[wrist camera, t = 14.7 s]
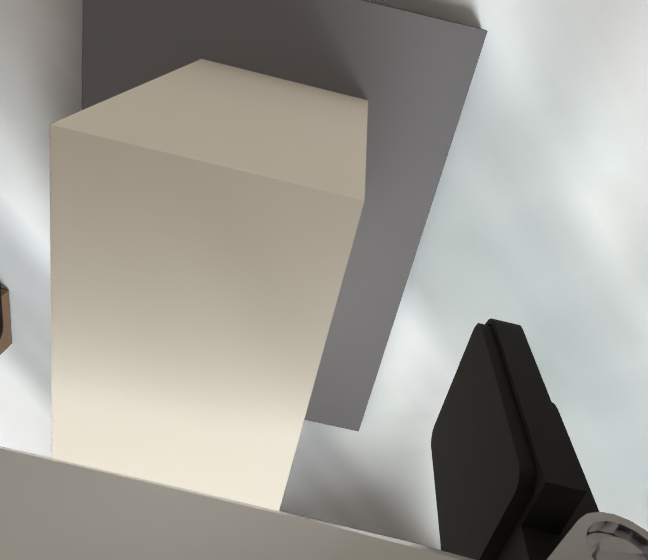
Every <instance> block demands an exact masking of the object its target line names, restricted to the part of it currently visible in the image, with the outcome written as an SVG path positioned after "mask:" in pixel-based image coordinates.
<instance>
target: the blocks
mask: <svg viewBox="0 0 648 560" xmlns="http://www.w3.org/2000/svg"><path fill="white" fill-rule="evenodd" d="M1 299H2V312H3V333H2V336H1V338H0V355H1V354H2V353H3V352H4V351H5V350H6V349H7V348H8V347H9V346H10V345H11V344H12V335H11V319H10V303H9V290H4V289H1Z"/></svg>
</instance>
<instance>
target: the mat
mask: <svg viewBox="0 0 648 560" xmlns="http://www.w3.org/2000/svg"><path fill="white" fill-rule="evenodd" d="M486 34H487V31H486V30H484V29H480V28H476V27H472V26H468V25H464V24H459V23H455V22H451V21H447V20H443V19H439V18H435V17H430V16H426V15H422V14H418V13H414V12H410V11H405V10H401V9H397V8H393V7H389V6H385V5H381V4H376V3H372V2H368V1H364V0H83V41H82V110H84V109H86V108H89V107H91V106H93V105H96V104H98V103H100V102H102V101H105V100H107V99H109V98H112V97H114V96H116V95H119V94H121V93H123V92H126V91H128V90H130V89H133V88H135V87H137V86H140V85H142V84H144V83H147V82H149V81H151V80H154V79H156V78H158V77H161V76H163V75H165V74H168V73H170V72H172V71H175V70H177V69H179V68H182V67H184V66H186V65H188V64H191V63H193V62H195V61H198V60H200V59H204V60H208V61H212V62H216V63H220V64H224V65H228V66H232V67H236V68H240V69H244V70H248V71H252V72H256V73H260V74H264V75H268V76H272V77H276V78H280V79H284V80H288V81H292V82H296V83H300V84H304V85H308V86H312V87H316V88H320V89H324V90H328V91H332V92H336V93H340V94H344V95H348V96H352V97H356V98H360V99H364V100H368V118H367V146H366V175H365V201H364V205H363V208H362V212H361V216H360V219H359V223H358V226H357V230H356V234H355V237H354V241H353V245H352V248H351V252H350V255H349V259H348V263H347V266H346V270H345V274H344V277H343V281H342V284H341V288H340V292H339V295H338V299H337V303H336V306H335V310H334V313H333V317H332V321H331V324H330V328H329V332H328V335H327V339H326V342H325V346H324V350H323V353H322V357H321V361H320V364H319V368H318V371H317V375H316V379H315V382H314V386H313V390H312V393H311V397H310V400H309V404H308V408H307V411H306V415H305V419H304V420H309V421H314V422H318V423H323V424H327V425H332V426H337V427H341V428H346V429H351V430H355V431H359V428H360V425H361V422H362V419H363V416H364V413H365V410H366V407H367V404H368V400H369V397H370V394H371V391H372V388H373V385H374V382H375V379H376V376H377V372H378V369H379V366H380V363H381V360H382V357H383V354H384V351H385V348H386V344H387V341H388V338H389V335H390V332H391V329H392V326H393V323H394V320H395V317H396V313H397V310H398V307H399V304H400V301H401V298H402V295H403V292H404V289H405V285H406V282H407V279H408V276H409V273H410V270H411V267H412V264H413V261H414V258H415V254H416V251H417V248H418V245H419V242H420V239H421V236H422V233H423V230H424V226H425V223H426V220H427V217H428V214H429V211H430V208H431V205H432V202H433V199H434V195H435V192H436V189H437V186H438V183H439V180H440V177H441V174H442V171H443V167H444V164H445V161H446V158H447V155H448V152H449V149H450V146H451V143H452V140H453V136H454V133H455V130H456V127H457V124H458V121H459V118H460V115H461V112H462V108H463V105H464V102H465V99H466V96H467V93H468V90H469V87H470V84H471V81H472V77H473V74H474V71H475V68H476V65H477V62H478V59H479V56H480V53H481V49H482V46H483V43H484V40H485V37H486Z"/></svg>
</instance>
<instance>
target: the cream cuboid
mask: <svg viewBox="0 0 648 560" xmlns="http://www.w3.org/2000/svg"><path fill="white" fill-rule="evenodd" d="M367 118H368V100H364V99H360V98H356V97H352V96H348V95H344V94H340V93H336V92H332V91H328V90H324V89H320V88H316V87H312V86H308V85H304V84H300V83H296V82H292V81H288V80H284V79H280V78H276V77H272V76H268V75H264V74H260V73H256V72H252V71H248V70H244V69H240V68H236V67H232V66H228V65H224V64H220V63H216V62H212V61H208V60H204V59H200V60H198V61H195V62H193V63H191V64H188V65H186V66H184V67H182V68H179V69H177V70H175V71H172V72H170V73H168V74H165V75H163V76H161V77H158V78H156V79H154V80H151V81H149V82H147V83H144V84H142V85H140V86H137V87H135V88H133V89H130V90H128V91H126V92H123V93H121V94H119V95H116V96H114V97H112V98H109V99H107V100H105V101H102V102H100V103H98V104H96V105H93V106H91V107H89V108H86V109H84V110H82V111H79V112H77V113H75V114H72V115H70V116H68V117H65V118H63V119H61V120H58V121H56V122H54V123H51V124H50V247H51V403H52V458H53V459H58V460H62V461H66V462H71V463H75V464H80V465H84V466H88V467H93V468H97V469H101V470H106V471H110V472H114V473H119V474H123V475H127V476H132V477H136V478H140V479H145V480H149V481H153V482H158V483H162V484H166V485H171V486H175V487H179V488H184V489H188V490H192V491H196V492H201V493H205V494H209V495H213V496H218V497H222V498H226V499H230V500H235V501H239V502H243V503H247V504H251V505H256V506H260V507H264V508H268V509H273V510H277V511H279V509H280V506H281V502H282V498H283V495H284V491H285V487H286V484H287V480H288V477H289V473H290V469H291V466H292V462H293V458H294V455H295V451H296V448H297V444H298V440H299V437H300V433H301V429H302V426H303V422H304V419H305V415H306V411H307V408H308V404H309V400H310V397H311V393H312V390H313V386H314V382H315V379H316V375H317V371H318V368H319V364H320V361H321V357H322V353H323V350H324V346H325V342H326V339H327V335H328V332H329V328H330V324H331V321H332V317H333V313H334V310H335V306H336V303H337V299H338V295H339V292H340V288H341V284H342V281H343V277H344V274H345V270H346V266H347V263H348V259H349V255H350V252H351V248H352V245H353V241H354V237H355V234H356V230H357V226H358V223H359V219H360V216H361V212H362V208H363V205H364V201H365V175H366V146H367Z"/></svg>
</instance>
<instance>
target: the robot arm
mask: <svg viewBox="0 0 648 560" xmlns="http://www.w3.org/2000/svg"><path fill="white" fill-rule="evenodd" d="M2 333H3V312H2V299H1V286H0V338H1V336H2ZM431 449H432V460H433V470H434V480H435V491H436V501H437V511H438V521H439V532H440V542H441V550H438V549H434V548H430V547H427V546H423V545H419V544H416V543H412V542H408V541H404V540H399V539H395V538H391V537H387V536H382V535H378V534H374V533H370V532H366V531H361V530H357V529H353V528H349V527H345V526H341V525H336V524H332V523H328V522H324V521H319V520H315V519H311V518H307V517H302V516H298V515H294V514H290V513H285V512H281V511H277V510H273V509H268V508H264V507H260V506H256V505H251V504H247V503H243V502H239V501H235V500H230V499H226V498H222V497H218V496H213V495H209V494H205V493H201V492H196V491H192V490H188V489H184V488H179V487H175V486H171V485H166V484H162V483H158V482H153V481H149V480H145V479H140V478H136V477H132V476H127V475H123V474H119V473H114V472H110V471H106V470H101V469H97V468H93V467H88V466H84V465H80V464H75V463H71V462H66V461H62V460H58V459H53V458H49V457H45V456H40V455H36V454H32V453H27V452H23V451H18V450H14V449H10V448H5V447H1V446H0V560H648V532H647V531H646V530H645V529H643V528H641V527H640V526H638V525H636V524H635V523H633V522H631V521H630V520H627V519H625V518H622V517H620V516H617V515H615V514H610V513H604V512H599V510H598V507H597V505H596V503H595V500H594V498H593V495H592V493H591V490H590V488H589V485H588V483H587V480H586V478H585V475H584V473H583V470H582V468H581V465H580V463H579V460H578V458H577V456H576V453H575V451H574V448H573V446H572V443H571V441H570V438H569V436H568V433H567V431H566V428H565V426H564V423H563V421H562V418H561V416H560V413H559V411H558V409H557V407H556V406H555V404H554V403H552V402H551V400H550V397H549V395H548V392H547V390H546V387H545V384H544V382H543V379H542V377H541V374H540V372H539V369H538V367H537V364H536V362H535V359H534V357H533V354H532V352H531V349H530V347H529V344H528V342H527V339H526V336H525V334H524V331H523V329H522V327H521V326H520V325H517V324H512V323H508V322H504V321H500V320H495V319H489V320H488V321H487V322H486V324H485V325H484V324H480V323H478V324H477V325H476V326H475V328H474V330H473V332H472V335H471V337H470V340H469V342H468V345H467V347H466V349H465V352H464V354H463V357H462V359H461V362H460V364H459V367H458V369H457V372H456V374H455V376H454V379H453V381H452V384H451V386H450V389H449V391H448V394H447V396H446V399H445V401H444V403H443V406H442V408H441V411H440V413H439V416H438V418H437V421H436V423H435V426H434V429H433V432H432V438H431Z"/></svg>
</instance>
